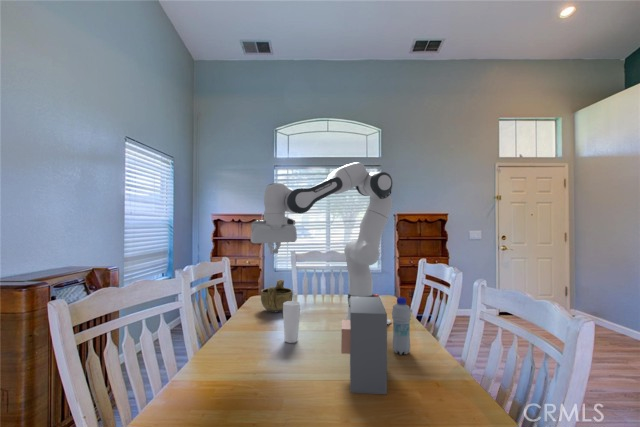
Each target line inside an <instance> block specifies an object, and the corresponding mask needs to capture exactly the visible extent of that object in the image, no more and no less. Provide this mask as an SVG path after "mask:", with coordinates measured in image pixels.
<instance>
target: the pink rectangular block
mask: <svg viewBox="0 0 640 427" xmlns="http://www.w3.org/2000/svg"><path fill="white" fill-rule="evenodd" d="M350 339H351V326H350V320H346V319H342V320H341V346H340V347H341V350H340V351H341V353H340V354H345V355H350Z"/></svg>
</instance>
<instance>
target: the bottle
mask: <svg viewBox="0 0 640 427" xmlns="http://www.w3.org/2000/svg"><path fill="white" fill-rule="evenodd" d="M410 307H411V306H409V305H408V304H407V299H406V298H405V297H403V296H400V297H397V298H396V304H394V305H393V306H392V312H391V316H392V320H393V321H392V350H393V351H394V353H395V354H398V353H399V355H400V356H401V355H403V354H404V355H405V354H406V355H408V354H409V353H410V351H411V338H410V337H411V336H410V335H411V334H410V333H411V330H410V329H411V328H410V327H411V326H410V324H411V317H412V316H411V314H412V313H411V308H410Z"/></svg>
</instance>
